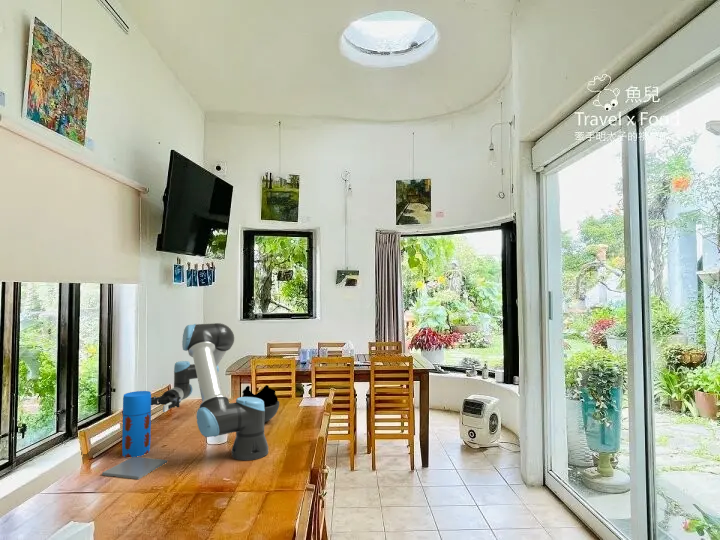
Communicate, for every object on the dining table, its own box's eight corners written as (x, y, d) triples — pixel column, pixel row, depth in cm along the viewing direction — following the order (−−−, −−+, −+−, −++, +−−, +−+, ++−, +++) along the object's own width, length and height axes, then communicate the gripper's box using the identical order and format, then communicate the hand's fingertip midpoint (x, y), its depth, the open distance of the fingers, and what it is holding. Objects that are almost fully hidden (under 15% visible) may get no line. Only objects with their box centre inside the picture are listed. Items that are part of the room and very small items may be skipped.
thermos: (138, 458, 179) (139, 397, 180) (115, 456, 181) (117, 396, 182) (155, 449, 190) (156, 391, 191) (134, 447, 192) (135, 390, 193)
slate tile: (167, 462, 175) (167, 460, 175) (138, 479, 159) (138, 476, 159) (133, 459, 179) (133, 456, 179) (102, 475, 163) (102, 472, 163)
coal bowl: (287, 420, 231) (287, 384, 231) (259, 431, 214) (259, 392, 215) (260, 414, 241) (260, 380, 242) (231, 424, 224) (232, 387, 225)
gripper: (196, 404, 216) (175, 417, 195) (148, 403, 218) (122, 416, 197) (196, 389, 217) (176, 400, 195) (148, 388, 218) (122, 399, 197)
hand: (149, 408), depth 196 cm, fingers open, 13 cm apart
